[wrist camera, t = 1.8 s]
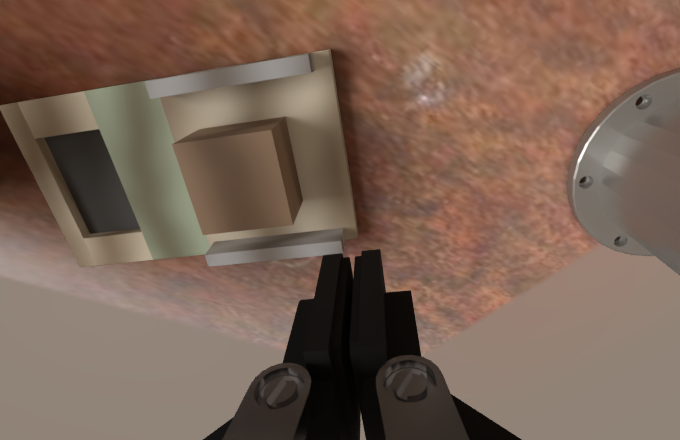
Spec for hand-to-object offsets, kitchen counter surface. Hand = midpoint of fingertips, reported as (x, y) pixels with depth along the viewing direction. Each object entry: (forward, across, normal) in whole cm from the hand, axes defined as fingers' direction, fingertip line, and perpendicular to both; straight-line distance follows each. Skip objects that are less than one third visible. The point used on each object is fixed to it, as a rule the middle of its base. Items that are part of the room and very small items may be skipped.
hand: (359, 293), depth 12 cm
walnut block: (+16, +8, 0) cm, 18 cm away
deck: (+17, +13, 0) cm, 21 cm away
